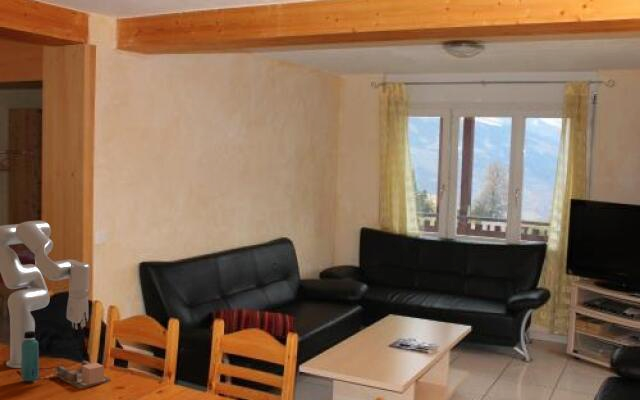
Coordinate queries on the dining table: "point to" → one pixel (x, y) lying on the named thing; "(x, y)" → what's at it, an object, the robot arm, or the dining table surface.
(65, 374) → the chute
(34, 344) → the beverage bottle
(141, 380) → the dining table surface
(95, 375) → the block
